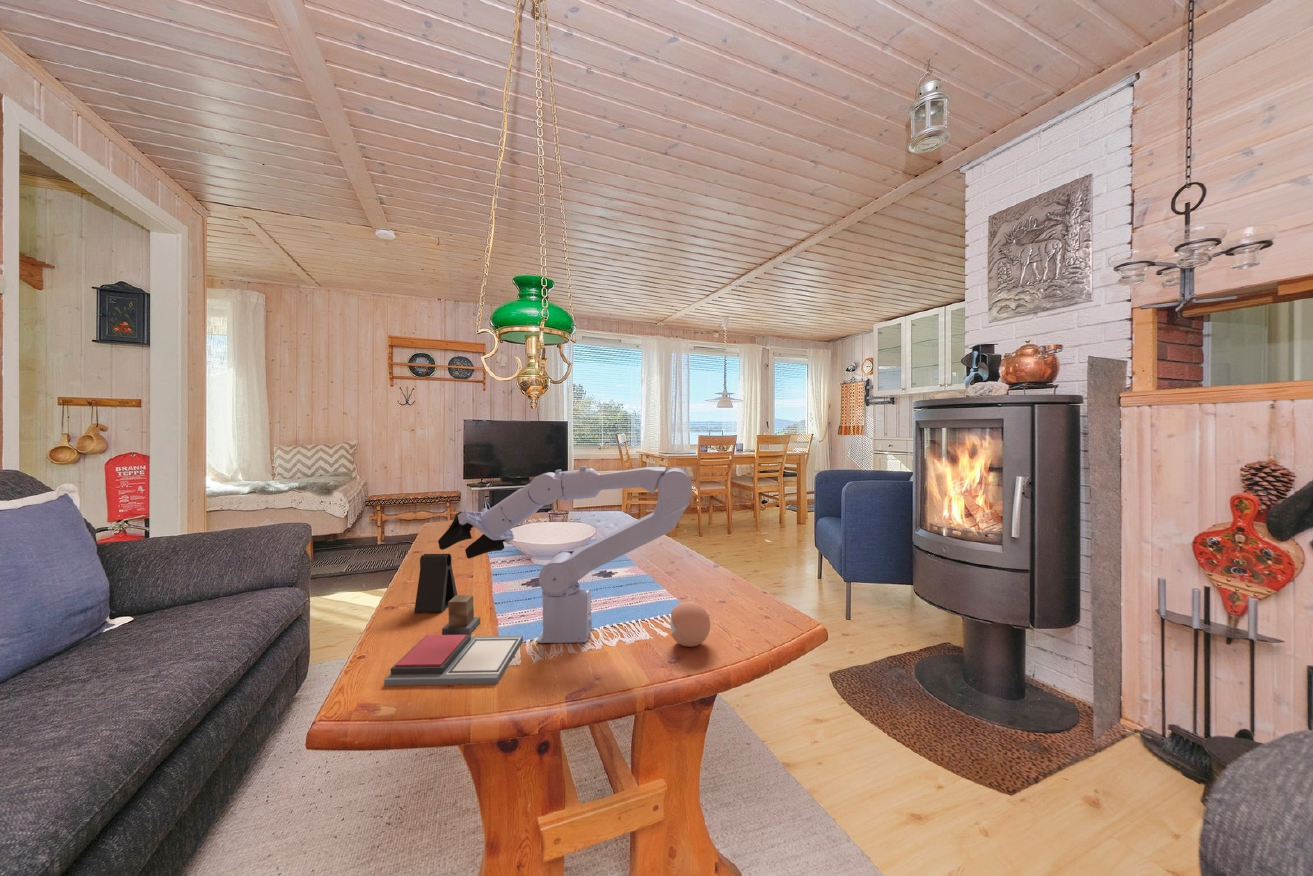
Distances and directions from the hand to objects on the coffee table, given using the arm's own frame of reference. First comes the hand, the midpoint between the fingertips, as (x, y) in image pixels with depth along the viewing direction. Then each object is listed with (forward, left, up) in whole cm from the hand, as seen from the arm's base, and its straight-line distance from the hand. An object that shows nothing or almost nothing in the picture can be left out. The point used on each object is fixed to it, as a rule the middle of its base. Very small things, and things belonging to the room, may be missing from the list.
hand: (454, 549), depth 93 cm
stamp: (0, -2, -17) cm, 17 cm away
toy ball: (-46, +6, -17) cm, 50 cm away
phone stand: (+11, -15, -17) cm, 25 cm away
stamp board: (-5, +11, -17) cm, 21 cm away
